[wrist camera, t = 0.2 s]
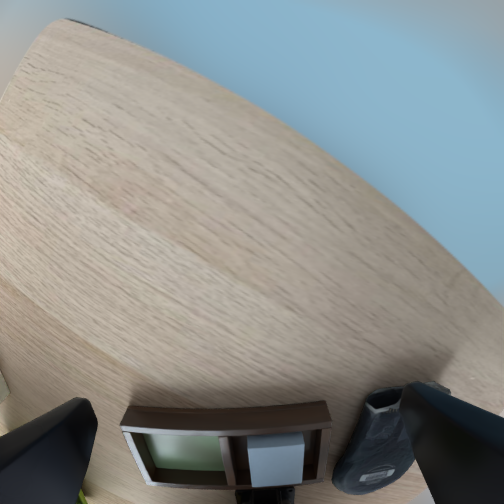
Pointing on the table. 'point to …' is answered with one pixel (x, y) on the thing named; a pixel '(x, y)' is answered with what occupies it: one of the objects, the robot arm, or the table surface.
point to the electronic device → (377, 445)
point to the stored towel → (276, 458)
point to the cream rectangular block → (3, 388)
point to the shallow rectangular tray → (220, 443)
